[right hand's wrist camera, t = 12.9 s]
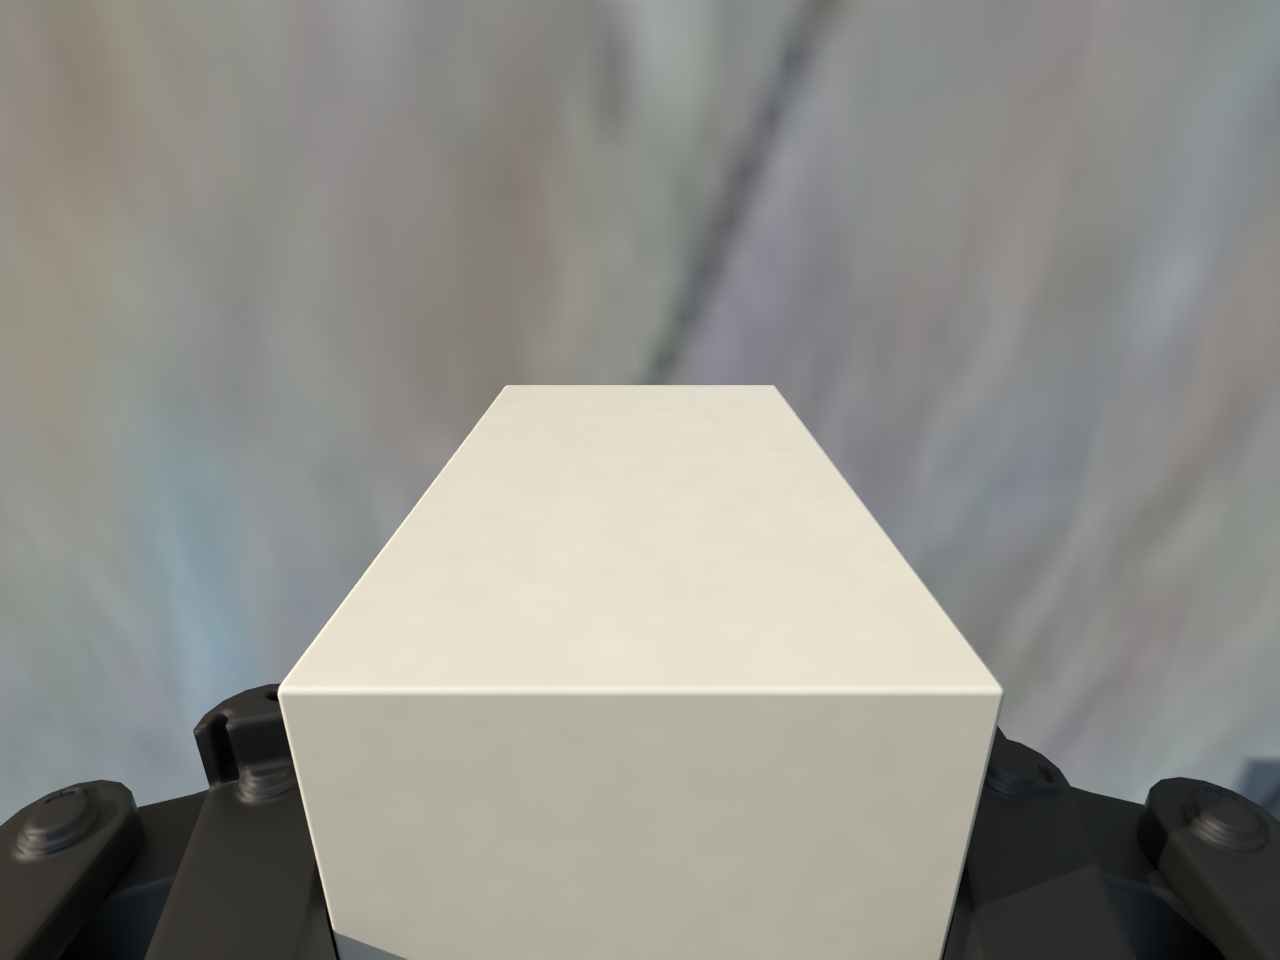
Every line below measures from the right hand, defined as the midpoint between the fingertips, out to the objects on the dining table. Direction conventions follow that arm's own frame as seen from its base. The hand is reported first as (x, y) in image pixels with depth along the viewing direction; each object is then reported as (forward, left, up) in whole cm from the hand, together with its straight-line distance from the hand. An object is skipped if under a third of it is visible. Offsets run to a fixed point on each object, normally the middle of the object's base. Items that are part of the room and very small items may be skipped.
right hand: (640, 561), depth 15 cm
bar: (+1, +9, -1) cm, 9 cm away
